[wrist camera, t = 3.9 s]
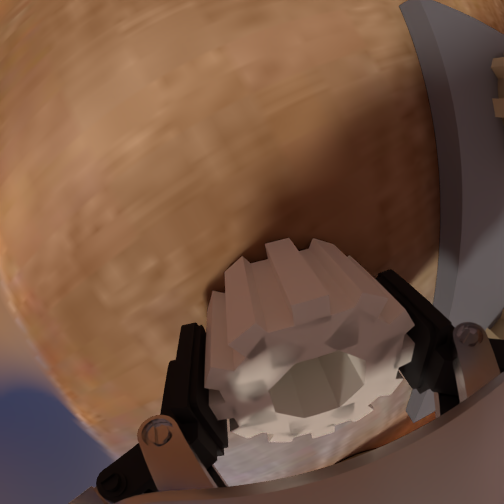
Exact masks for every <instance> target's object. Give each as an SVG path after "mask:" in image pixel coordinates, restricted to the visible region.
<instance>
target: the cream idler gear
mask: <svg viewBox="0 0 504 504" xmlns="http://www.w3.org/2000/svg"><path fill="white" fill-rule="evenodd" d="M265 248H266V252H267V257H268V259H266V260H262V261H258V262H254V263H250V262H249V261H247V260H246V259H245V258H244V257H243V256H242V257H240V258H239V259H238V260H237V261H236V262H235V263H234V264H233V265H232V266H231V267H229V268H228V269H227V270H226V271H225V272H224V273H225V293H221V292H217V291H213V292H212V295H211V299H210V302H209V306H208V310H207V328H206V349H205V376H204V388H207V389H209V407H210V408H211V410H212V411H213V413H214V414H215V416H216V418H217V419H218V420H223V419H230V431H231V432H233V433H236V434H238V435H241V436H243V437H246V438H248V439H249V438H251V437H253V436H255V435H257V434H259V433H261V432H263V433H267V435H268V440H269V442H291V441H292V440H293V439H294V438H295V437H297V436H301V435H304V434H308V433H311V435H312V438H316V437H320V436H323V435H326V434H329V433H332V432H334V426H335V425H337V424H340V423H343V422H346V421H349V420H352V421H354V422H356V421H358V420H359V419H361V418H362V417H364V416H365V415H367V414H368V413H370V412H371V411H373V410H374V409H373V407H372V405H371V403H372V402H373V401H374V400H375V399H376V398H377V397H378V396H387V395H391V394H392V392H393V391H394V390H395V389H396V387H397V386H398V385H399V384H400V382H401V381H402V380H403V377H402V376H401V374H400V373H399V371H398V368H399V367H401V366H403V365H405V364H407V363H409V362H411V359H412V355H413V350H414V346H415V343H414V342H413V341H412V339H411V338H410V337H409V336H408V335H407V332H408V331H409V330H410V329H411V328H412V327H413V326H415V325H414V323H413V321H412V319H411V318H410V316H409V314H408V313H407V311H406V309H405V308H404V307H403V306H402V305H401V304H400V303H399V302H398V301H397V300H396V299H395V298H394V297H393V296H392V295H391V294H390V293H389V292H388V291H387V290H386V289H385V288H384V287H383V286H382V285H381V284H380V283H379V282H378V281H377V280H376V279H374V278H373V277H372V276H371V275H370V274H369V273H368V272H367V271H366V270H365V269H364V268H363V267H362V266H361V265H360V264H359V263H358V262H357V261H356V260H354V259H353V258H352V257H351V256H350V255H349V256H348V257H347V256H346V255H345V254H344V253H342V252H341V251H340V250H339V249H338V248H337V247H336V246H335V245H334V244H331V243H328V242H325V241H321V240H318V239H315V238H313V239H312V241H311V244H310V246H309V249H305V250H301V251H298V249H297V248H296V247H295V245H294V244H293V242H292V241H291V240H290V238H286V239H282V240H278V241H274V242H270V243H266V244H265Z"/></svg>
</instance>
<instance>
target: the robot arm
mask: <svg viewBox="0 0 504 504" xmlns="http://www.w3.org/2000/svg"><path fill="white" fill-rule="evenodd" d="M375 279H376V280H377V281H378V282H379V283H380V284H381V285H382V286H383V287H384V288H385V289H386V290H387V291H388V292H389V293H390V294H391V295H392V296H393V297H394V298H395V299H396V300H397V301H398V302H399V303H400V304H401V305H402V306H403V307H404V308H405V309H406V311H407V313H408V314H409V316H410V318H411V319H412V321H413V323H414V325H415V326H413V327H412V328H411V329H410V330H409V331H408V332H407V335H408V336H409V337H410V338H411V339H412V341H413V342H414V343H415V346H414V350H413V355H412V359H411V362H409V363H407V364H405V365H403V366H401V367H399V370H400V371H401V373H402V374H403V376H404V377H405V379H406V380H407V382H408V383H409V385H410V386H411V387H412V388H413V389H417V391H418V392H419V394H421V393H423V392H425V391H427V390H429V389H431V391H432V392H434V402H435V414H436V419H434V420H433V421H431V422H429V423H428V424H426V425H424V426H422V427H420V428H419V429H417V430H415V431H413V432H411V433H409V434H407V435H405V436H403V437H401V438H399V439H397V440H395V441H393V442H391V443H388V444H386V445H384V446H382V447H379V448H377V449H375V450H372V451H370V452H367V453H365V454H362V455H360V456H357V457H354V458H352V459H349V460H346V461H343V462H340V463H337V464H334V465H331V466H328V467H325V468H321V469H318V470H314V471H311V472H307V473H303V474H299V475H295V476H291V477H286V478H281V479H277V480H271V481H266V482H260V483H253V484H246V485H239V486H231V487H229V486H228V485H227V483H226V482H225V481H224V479H223V478H222V476H221V475H220V473H219V472H218V471H217V469H216V468H215V466H214V465H213V464H214V463H215V462H216V461H217V456H222V455H224V448H227V447H228V434H227V419H223V420H218V419H217V418H216V416H215V414H214V413H213V411H212V410H211V408H210V407H209V389H207V388H204V376H205V349H206V332H205V330H204V327H203V326H202V325H200V326H198V324H197V323H191V324H186V325H182V327H181V332H180V338H179V344H178V350H177V356H176V360H173V361H170V362H169V365H168V371H167V376H166V382H165V388H164V394H163V401H162V407H161V414H160V415H156V416H152V417H150V418H148V419H147V420H145V421H144V422H143V423H142V424H141V426H140V427H139V429H138V433H137V438H138V442H139V443H138V444H137V445H136V446H134V447H133V448H132V449H131V450H129V451H128V452H127V453H125V454H124V455H123V456H121V457H120V458H119V459H117V460H116V461H115V462H114V463H112V464H111V465H110V466H108V467H107V468H105V469H104V470H103V471H102V472H101V473H100V474H99V476H98V478H97V482H96V487H95V488H93V487H92V486H91V487H89V488H88V489H87V490H86V491H84V492H83V493H82V494H80V495H79V496H78V497H76V498H75V499H74V500H72V501H71V502H70V503H68V504H504V340H501V339H492V338H488V336H487V334H486V332H485V330H484V329H483V328H482V327H481V326H480V325H478V324H476V323H472V322H464V323H460V324H459V325H457V326H456V327H454V326H453V325H452V322H451V321H450V320H448V319H447V318H446V317H445V316H444V315H443V314H442V313H441V312H440V311H439V310H438V309H437V308H436V307H434V306H433V305H432V304H431V303H430V302H429V301H428V300H427V299H426V298H424V297H423V296H422V295H421V294H420V293H419V292H418V291H417V290H415V289H414V288H413V287H412V286H411V285H410V284H409V283H407V282H406V281H405V280H404V279H403V278H401V277H400V276H399V275H398V274H397V273H396V272H394V271H393V270H387V271H384V272H381V273H379V274H378V277H377V278H375Z"/></svg>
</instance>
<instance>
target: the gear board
mask: <svg viewBox="0 0 504 504" xmlns="http://www.w3.org/2000/svg"><path fill="white" fill-rule="evenodd" d="M399 7H400V9H401V12H402V14H403V16H404V19H405V21H406V24H407V26H408V29H409V32H410V35H411V37H412V40H413V43H414V46H415V49H416V52H417V55H418V59H419V62H420V66H421V69H422V73H423V76H424V80H425V84H426V89H427V93H428V98H429V102H430V107H431V113H432V118H433V124H434V131H435V138H436V146H437V154H438V165H439V179H440V246H439V261H438V271H437V281H436V289H435V296H434V302H433V306H434V307H436V308H437V309H438V310H439V311H440V312H441V313H442V314H443V315H444V316H445V317H446V318H447V319H448V320H450V321H451V322H452V325H453V326H454V327H456V326H457V325H459V324H460V323H464V322H472V323H476V324H478V325H480V326H481V327H482V328H483V329H484V330H485V332H486V334H487V336H488V338H492V339H501V340H504V35H503V34H502V33H500V32H498V31H497V30H495V29H493V28H491V27H490V26H488V25H486V24H484V23H482V22H480V21H479V20H477V19H475V18H473V17H471V16H469V15H466V14H464V13H462V12H460V11H458V10H455V9H453V8H451V7H448V6H446V5H443V4H441V3H438V2H436V1H433V0H408V1H406V2H404V3H403V4H401V5H399ZM434 411H435V402H434V392H432V391H431V389H429V390H427V391H425V392H423V393H421V394H419V392H418V391H417V389H413V391H412V394H411V397H410V400H409V402H408V405H407V408H406V412H407V413H408V415H409V417H410V418H411V420H412V422H413V423H415V422H416V421H418V420H420V419H422V418H424V417H426V416H427V415H429V414H431V413H432V412H434Z"/></svg>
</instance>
